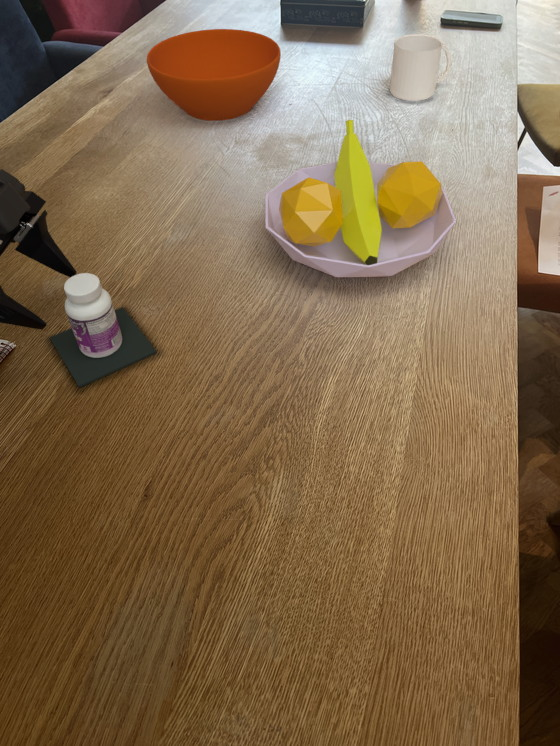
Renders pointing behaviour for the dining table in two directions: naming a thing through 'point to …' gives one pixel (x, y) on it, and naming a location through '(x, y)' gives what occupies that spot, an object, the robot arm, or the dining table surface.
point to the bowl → (215, 71)
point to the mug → (417, 66)
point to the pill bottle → (92, 316)
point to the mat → (96, 368)
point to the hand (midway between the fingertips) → (60, 299)
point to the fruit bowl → (359, 214)
